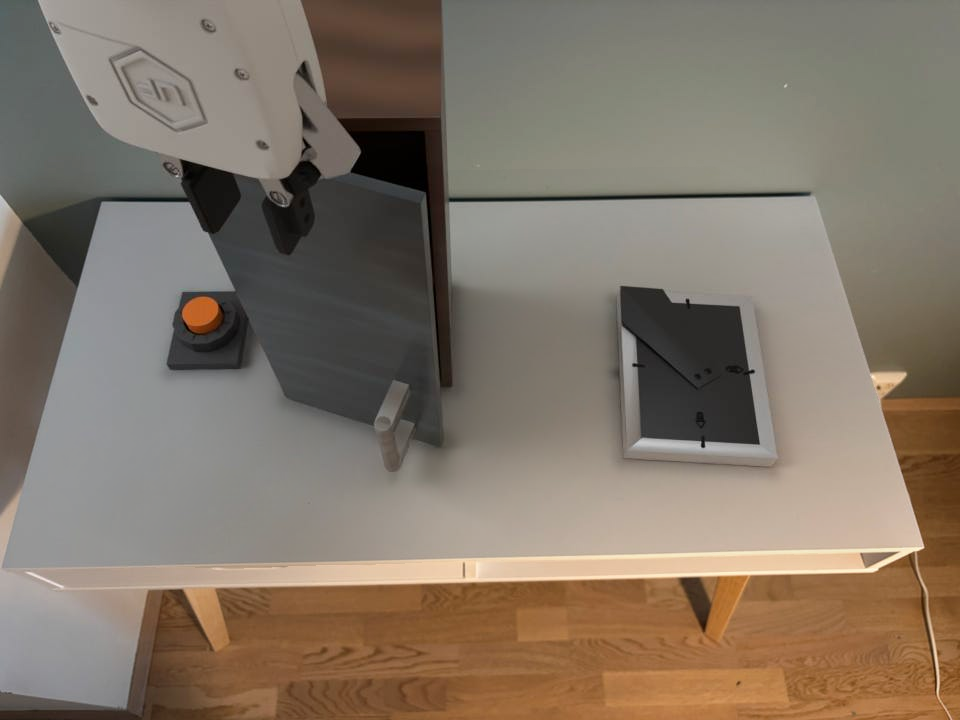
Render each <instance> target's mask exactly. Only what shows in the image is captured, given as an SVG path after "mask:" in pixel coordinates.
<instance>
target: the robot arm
mask: <svg viewBox="0 0 960 720" xmlns="http://www.w3.org/2000/svg"><path fill="white" fill-rule="evenodd" d="M37 2H38V4H39V7H40V9H41V11H42V14H43V16H44V18H45V22H46V23H47V25H48V28H49V31H50V33H51V35H52V37H53V39H54V41H55V44H56V46H57V48H58V49H59V53H60V55H61V56H62V58H63V61H64V63H65V65H66V67H67V69H68V71H69V73H70V75H71V77H72V79H73V81H74V83H75V85H76V87H77V88H78V91H79V92H80V95H81V97H82V98H83V100H84V102H85V104H86V106H87V107H88V109H89V111H90V112H91V114H92V116H93V118H94V119H95V120H96V122H97V123H98V125H99V126H100V127H101V129H102V130H103V131H105V132H106V133H107V134H109V135H110V136H111V137H113V138H115V139H117V140H118V141H121V142H123V143H126V144H128V145H131V146H134V147H138V148H140V149H145V150H147V151H151V152H153V153H154V152H155V153H156V154H157V157H158V160H159V164H160V167H161V169H162V170H163V171H164V172H165V173H166V174H167V175H169V176H170V177H173V178H175V179H180V180H181V182H180V186H181V188H182V189H183V192H184V195H185V196H186V198H187V200H188V202H189V205H190V207H191V208H192V211H193V213H194V215H195V217H196V219H197V221H198V223H199V225H200V227H201V229H202V231H203V232H204V233H207V234H208V233H211V234H215V233H217V232H219V231H220V229H221V228H222V226H223V225H224V223H225V222H226V220H227V219H228V217H229V216H230V214H231V213H232V211H233V210H234V208H235V207H236V205H237V204H238V202H239V201H240V199H241V193H240V190H239V188H238V185H237V182H236V180H235V177H234V175H233V173H236V174H240V175H244V176H248V177H253V178H258V180H259V181H260V183H261V185H262V187H263V189H264V191H265V193H266V194H267V196H266V197H265V199H264V200H263V202H262V210H263V213H264V216H265V219H266V222H267V224H268V227H269V230H270V233H271V235H272V238H273V241H274V244H275V247H276V249H277V250H278V251H279V253H281V254H284V255H288V256H290V255H291V254H292V252H293V250H294V249H295V247H296V245H297V244H298V242H299V240H300V239H301V237H306V236H307V235H308V234H309V232H310V230H311V229H312V227H313V224H314V220H315V213H314V209H313V205H312V202H311V198H310V194H309V191H308V189H309V188H311V187H312V186H314V185H315V184H316V183H317V181H318V180H320V179H323V178H325V179H330V178H334V177H337V176H341V175H345V174H348V173H350V171H351V169H352V168H353V166H354V164H355V162H356V161H357V159H358V157H359V156H360V153H361V151H360V148H359V146H358V145H357V144H356V143H355V141H354V140H353V139H352V138H351V136H350V135H349V134H348V132H347V131H346V130H345V129H344V127H343V126H342V125H341V124H340V122H339V121H338V120H337V119H336V117H335V116H334V115H333V114H332V112H331V111H330V110H329V109H328V107H327V102H326V95H325V88H324V83H323V78H322V73H321V69H320V65H319V61H318V57H317V53H316V49H315V46H314V42H313V39H312V36H311V32H310V29H309V26H308V22H307V19H306V16H305V13H304V9H303V6H302V3H301V0H37ZM302 136H303V138H304V139H305V140H306V141H307V142H308V143H309V145H308V146H307V147H306V146H305V144H304V142H303V140H302Z"/></svg>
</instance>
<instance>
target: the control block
mask: <svg viewBox="0 0 960 720" xmlns="http://www.w3.org/2000/svg"><path fill="white" fill-rule="evenodd" d="M198 297H209V298H212V299H214V300H215V301H216V302H217V304H218V306H219V308H220V310H221V311H222V314H223V320H222V323H221V325H220V326H219V327H218V328H217V329H216V330H214V331H213V332H211V333H208V334H197V333H194V332H192V331H191V330H190V329H189V327H188V326H187V324H186V323H185V321H184V319H183V316H182V312H183V309H184V307H185V305H186V304H187V303H188V302H189V301H191V300H193V299H195V298H198ZM248 322H249V319H248V316H247V314H246V312H245V310H244V308H243V306H242V304H241V302H240V300H239V297H238V295H237V293H236V291H235V290H229V291H228V290H225V291H224V290H221V291H219V290H218V291H216V290H215V291H213V290H212V291H182V292H181V295H180V301H179V305H178V308H177V309H176V310H175V311H174V315H173V320H172V328H173V332H172V337H171V341H170V345H169V350H168V355H167V359H166V366H167V367H168V369H169V370H204V369H205V370H206V369H207V370H208V369H211V370H212V369H215V370H216V369H217V370H218V369H241V366H242V361H243V354H244V348H245V342H246V336H247V329H248Z"/></svg>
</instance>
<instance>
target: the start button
mask: <svg viewBox="0 0 960 720" xmlns="http://www.w3.org/2000/svg"><path fill="white" fill-rule="evenodd" d="M182 316H183V319H184V321H185V323H186V324H187V326H188V327H189V329H190V330H191V331H192V332H194V333H197V334H208V333H211V332H213V331H214V330H216V329H217V328H218V327H219V326H220V325H221V323H222V320H223V314H222V311H221V310H220V308H219V306H218V304H217V302H216V301H215V300H214V299H212V298H209V297H198V298H195V299H193V300H191V301H189V302H188V303H187V304H186V305H185V307H184V309H183V312H182Z"/></svg>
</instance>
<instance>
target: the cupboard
mask: <svg viewBox="0 0 960 720" xmlns="http://www.w3.org/2000/svg"><path fill="white" fill-rule="evenodd" d="M301 3H302V6H303V9H304V13H305V16H306V19H307V22H308V26H309V29H310V32H311V36H312V39H313V42H314V46H315V49H316V53H317V57H318V61H319V65H320V69H321V73H322V78H323V83H324V88H325V95H326V102H327V107H328V109H329V110H330V111H331V112H332V114H333V115H334V116H335V117H336V119H337V120H338V121H339V122H340V124H341V125H342V126H343V127H344V129H345V130H346V131H347V132H348V134H349V135H350V136H351V138H352V139H353V140H354V141H355V143H356V144H357V145H358V146H359V148H360V151H361V153H360V156H359V157H358V159H357V161H356V162H355V164H354V166H353V168H352V169H351V171H350V172H351V173H354V174H358V175H362V176H366V177H369V178H373V179H377V180H381V181H385V182H388V183H392V184H396V185H400V186H404V187H407V188H411V189H415V190H419V191H423V192H425V193H426V203H427V216H428V230H429V243H430V257H431V270H432V284H433V297H434V311H435V324H436V338H437V351H438V365H439V379H440V387H453V385H454V384H453V383H454V380H453V375H454V373H453V368H454V367H453V276H452V275H453V273H452V250H451V249H452V247H451V244H452V243H451V218H450V217H451V215H450V187H449V186H450V185H449V164H448V163H449V160H448V135H447V130H448V129H447V107H446V106H447V103H446V77H445V76H446V75H445V51H444V50H445V49H444V48H445V46H444V45H445V44H444V23H443V22H444V20H443V0H301ZM302 140H303V142H304V144H305V146H306V147H307V146H308V145H309V143H308V142H307V141H306V140H305V139H304V138H303V136H302Z"/></svg>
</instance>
